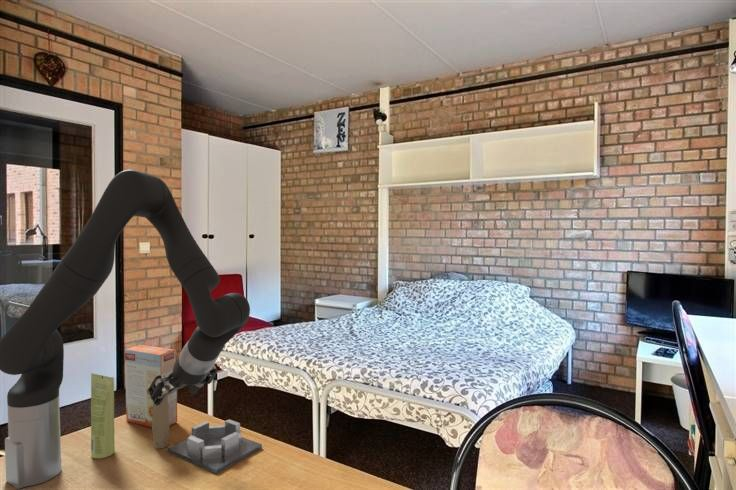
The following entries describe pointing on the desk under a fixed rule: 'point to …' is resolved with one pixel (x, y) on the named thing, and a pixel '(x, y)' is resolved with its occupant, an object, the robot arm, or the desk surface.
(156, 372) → the cracker box
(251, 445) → the octagonal fixture plate
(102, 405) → the tube
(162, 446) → the handle
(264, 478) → the desk surface
